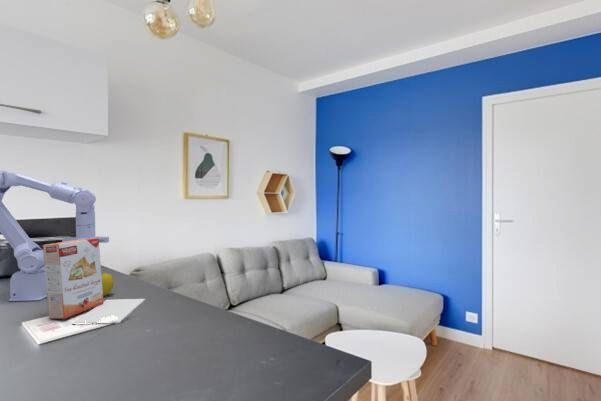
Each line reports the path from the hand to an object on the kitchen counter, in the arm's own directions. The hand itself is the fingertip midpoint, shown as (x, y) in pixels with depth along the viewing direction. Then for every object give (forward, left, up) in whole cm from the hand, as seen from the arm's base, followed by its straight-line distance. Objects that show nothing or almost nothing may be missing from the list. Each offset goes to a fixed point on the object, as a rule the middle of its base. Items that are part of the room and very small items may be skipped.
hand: (86, 263), depth 118 cm
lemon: (+8, -4, -11) cm, 14 cm away
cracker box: (+8, -20, -10) cm, 24 cm away
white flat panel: (+17, -20, -10) cm, 28 cm away
